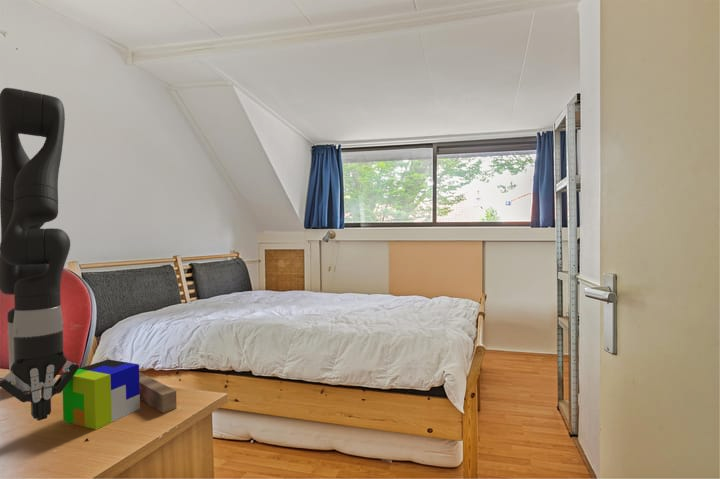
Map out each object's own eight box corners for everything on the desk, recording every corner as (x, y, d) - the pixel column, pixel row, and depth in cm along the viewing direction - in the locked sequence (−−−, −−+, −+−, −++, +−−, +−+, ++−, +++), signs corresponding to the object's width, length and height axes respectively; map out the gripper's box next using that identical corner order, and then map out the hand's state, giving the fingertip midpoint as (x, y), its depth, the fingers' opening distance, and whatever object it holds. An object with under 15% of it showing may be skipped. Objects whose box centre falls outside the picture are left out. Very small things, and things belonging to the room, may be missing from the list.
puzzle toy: (140, 408, 89) (139, 364, 89) (95, 429, 80) (94, 380, 80) (109, 402, 93) (107, 359, 93) (63, 421, 84) (62, 373, 84)
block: (125, 390, 100) (125, 374, 100) (138, 386, 102) (138, 371, 102) (162, 413, 87) (162, 395, 87) (176, 408, 89) (176, 390, 89)
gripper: (73, 322, 86) (75, 402, 86) (-10, 334, 76) (-8, 425, 76) (84, 326, 81) (86, 412, 81) (-3, 341, 71) (-1, 438, 71)
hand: (41, 418), depth 79 cm, fingers closed
